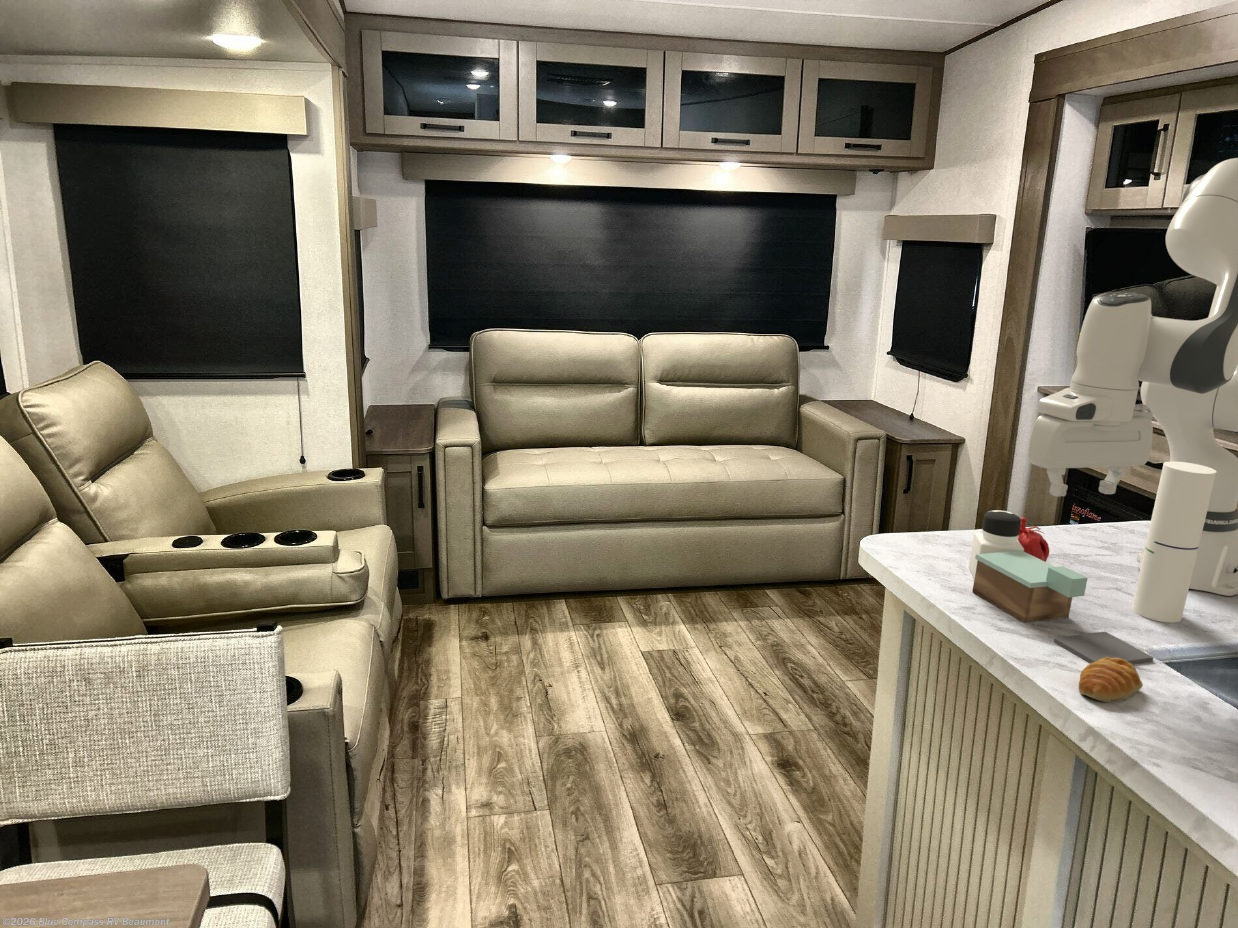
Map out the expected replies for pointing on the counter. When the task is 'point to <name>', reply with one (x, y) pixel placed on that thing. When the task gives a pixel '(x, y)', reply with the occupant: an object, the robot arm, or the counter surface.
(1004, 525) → the medicine bottle
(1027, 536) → the pomegranate
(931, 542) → the counter surface
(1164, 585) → the cylindrical container
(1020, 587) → the wooden box
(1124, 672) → the pastry
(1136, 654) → the mat
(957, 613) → the counter surface
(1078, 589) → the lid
